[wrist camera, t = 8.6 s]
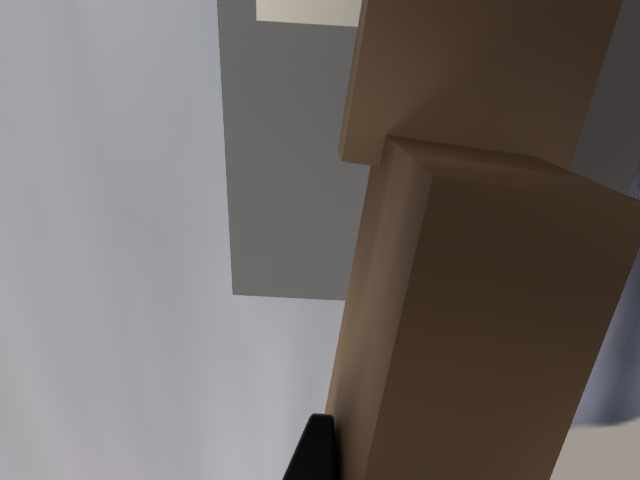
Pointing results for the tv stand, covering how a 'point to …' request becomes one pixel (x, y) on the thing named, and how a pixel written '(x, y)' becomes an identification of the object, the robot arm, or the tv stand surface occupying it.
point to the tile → (310, 11)
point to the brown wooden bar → (474, 238)
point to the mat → (323, 140)
